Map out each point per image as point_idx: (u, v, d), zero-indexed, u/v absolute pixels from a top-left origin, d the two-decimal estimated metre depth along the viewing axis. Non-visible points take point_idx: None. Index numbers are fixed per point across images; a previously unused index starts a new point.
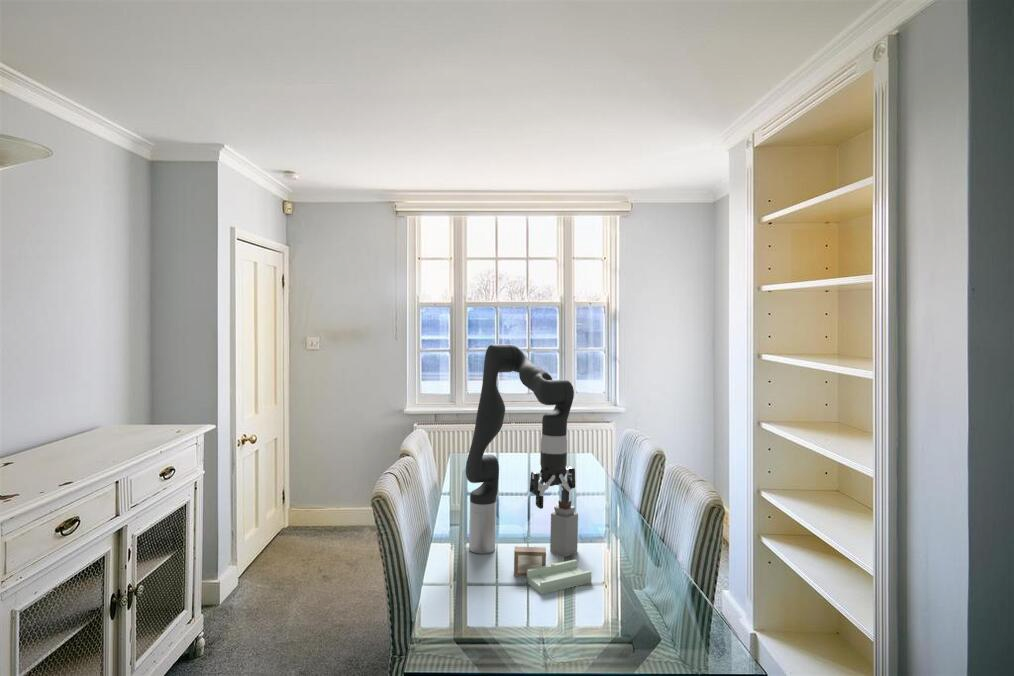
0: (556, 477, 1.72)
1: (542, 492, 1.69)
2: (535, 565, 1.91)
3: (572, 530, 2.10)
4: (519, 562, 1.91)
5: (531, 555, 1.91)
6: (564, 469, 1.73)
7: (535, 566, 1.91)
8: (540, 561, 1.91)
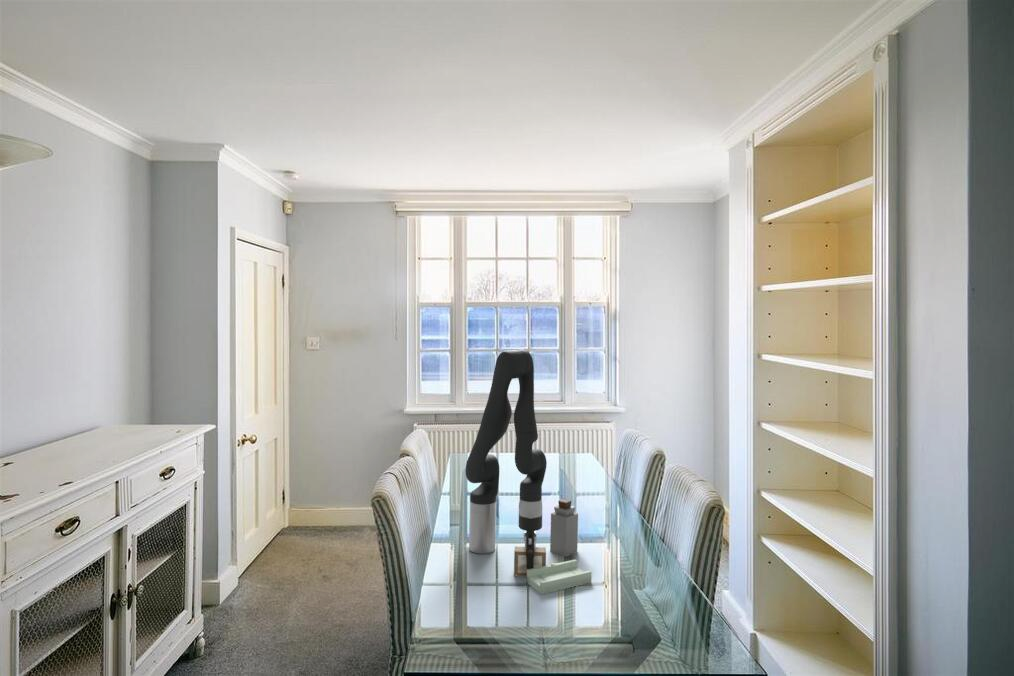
0: None
1: (533, 553, 1.88)
2: (535, 565, 1.91)
3: (572, 530, 2.10)
4: (519, 562, 1.91)
5: None
6: None
7: (535, 566, 1.91)
8: (540, 561, 1.91)
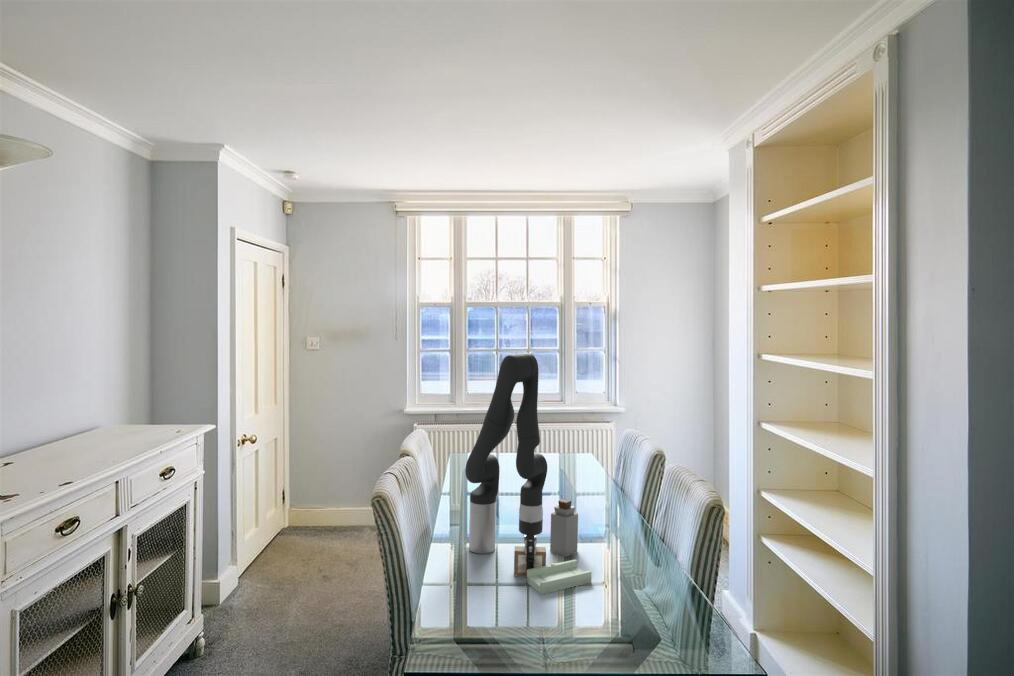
0: None
1: None
2: (535, 565, 1.91)
3: (572, 530, 2.10)
4: (519, 562, 1.91)
5: None
6: None
7: (535, 566, 1.91)
8: (540, 560, 1.91)
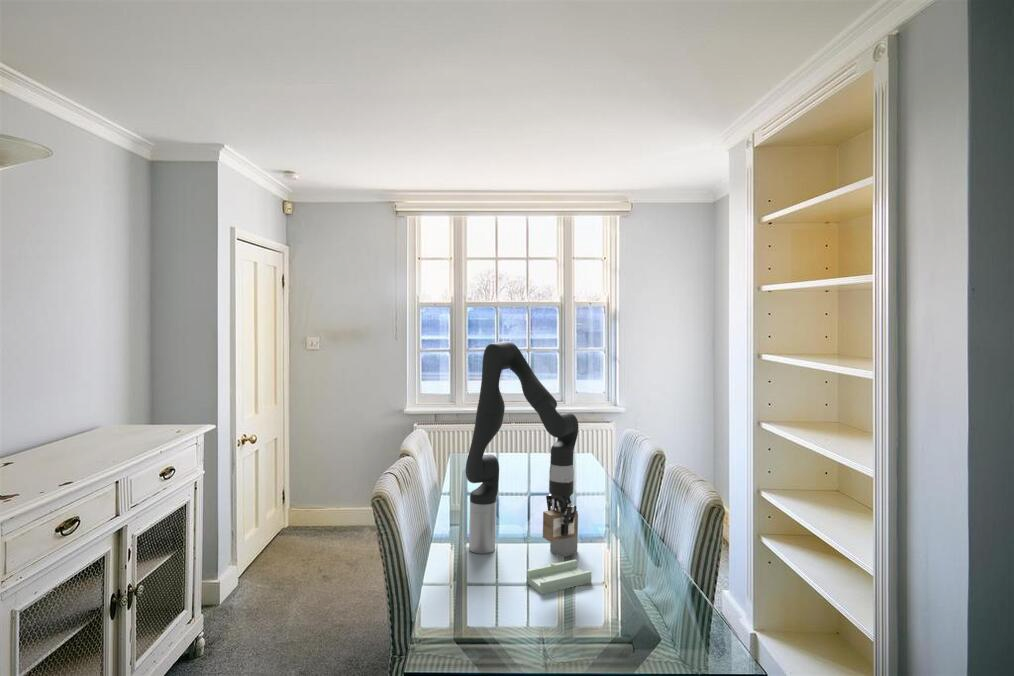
0: None
1: None
2: (568, 526, 1.86)
3: None
4: (554, 526, 1.83)
5: (565, 516, 1.85)
6: None
7: (568, 527, 1.86)
8: None
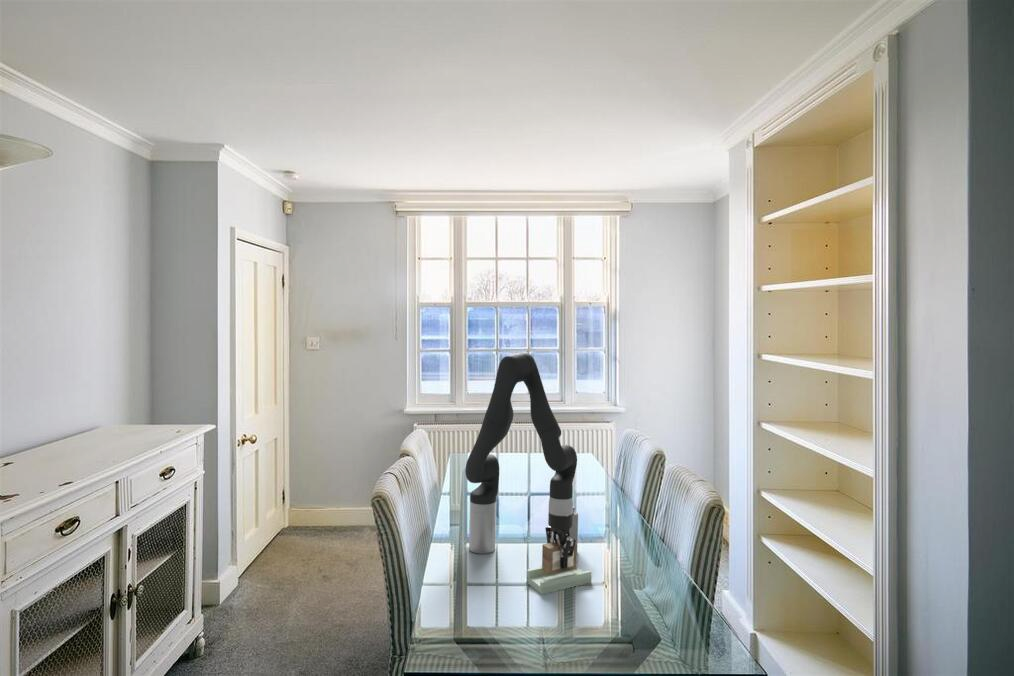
0: None
1: None
2: (568, 559, 1.86)
3: (572, 530, 2.10)
4: (553, 559, 1.83)
5: (564, 549, 1.85)
6: None
7: (568, 560, 1.86)
8: None
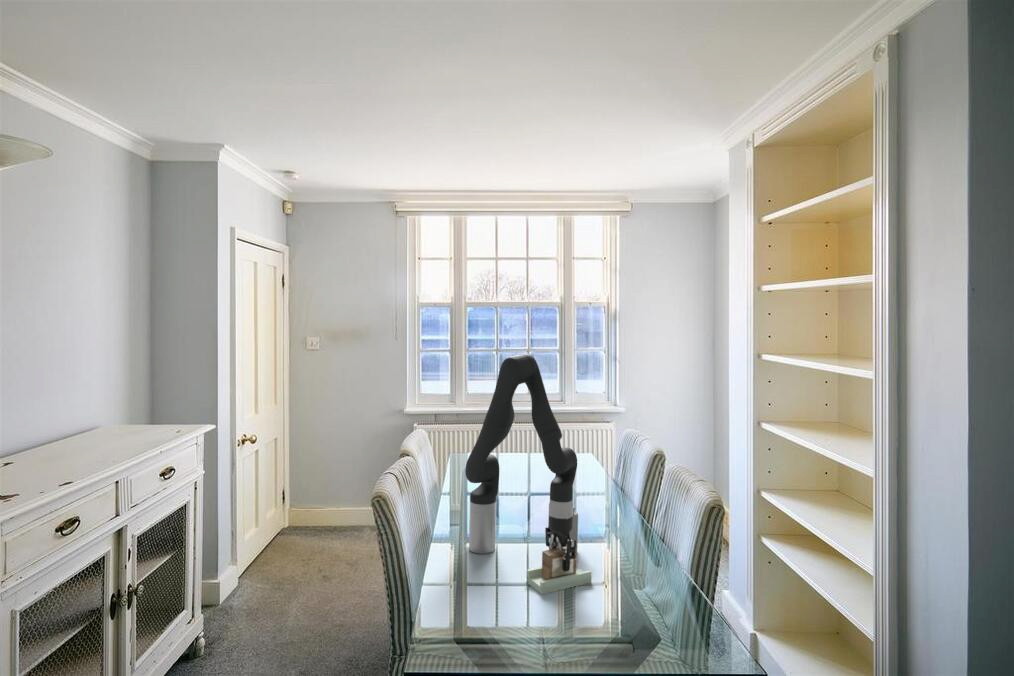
0: None
1: None
2: None
3: (572, 530, 2.10)
4: (553, 566, 1.84)
5: None
6: None
7: None
8: (572, 560, 1.87)
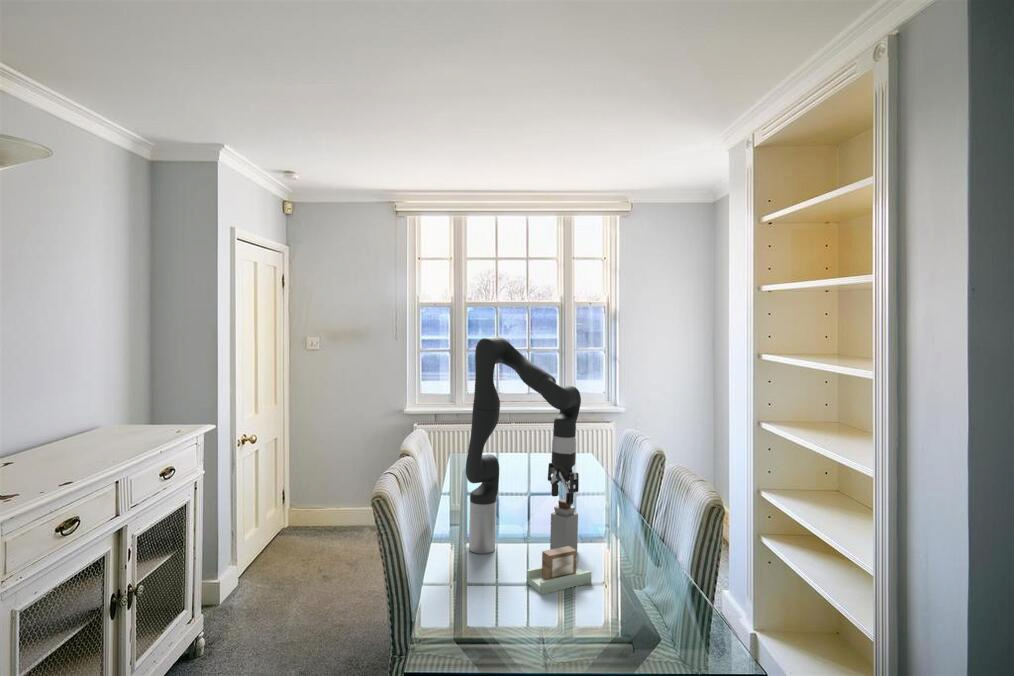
0: None
1: None
2: (567, 565, 1.86)
3: (572, 530, 2.10)
4: (553, 566, 1.84)
5: (564, 556, 1.86)
6: None
7: (567, 566, 1.86)
8: (572, 560, 1.87)
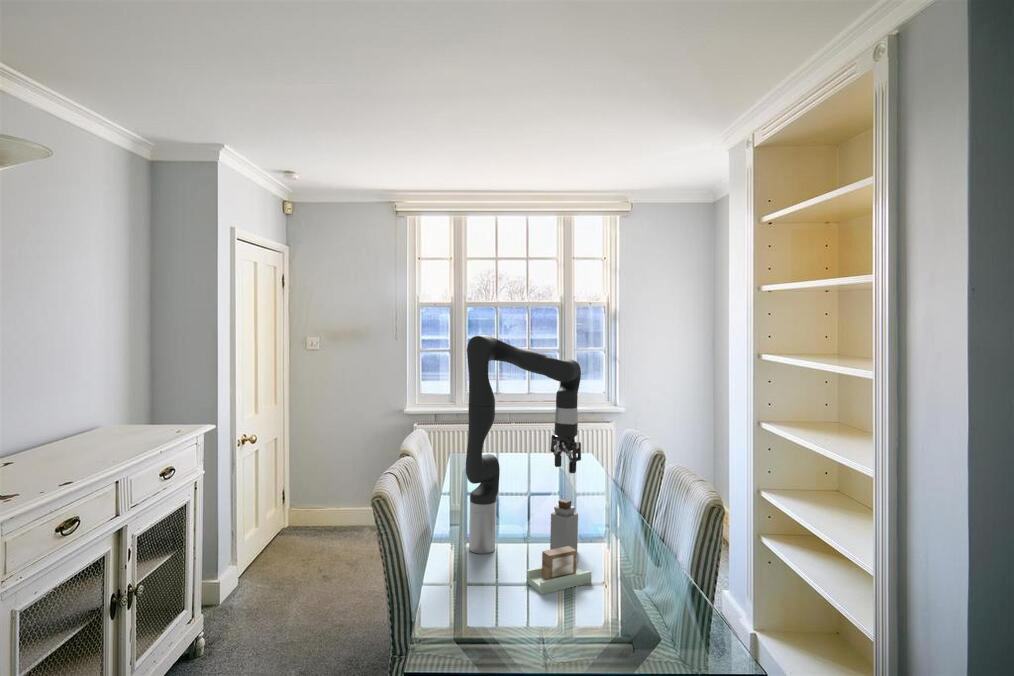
0: None
1: None
2: (567, 565, 1.86)
3: (572, 530, 2.10)
4: (553, 566, 1.84)
5: (564, 556, 1.86)
6: None
7: (567, 566, 1.86)
8: (572, 560, 1.87)
